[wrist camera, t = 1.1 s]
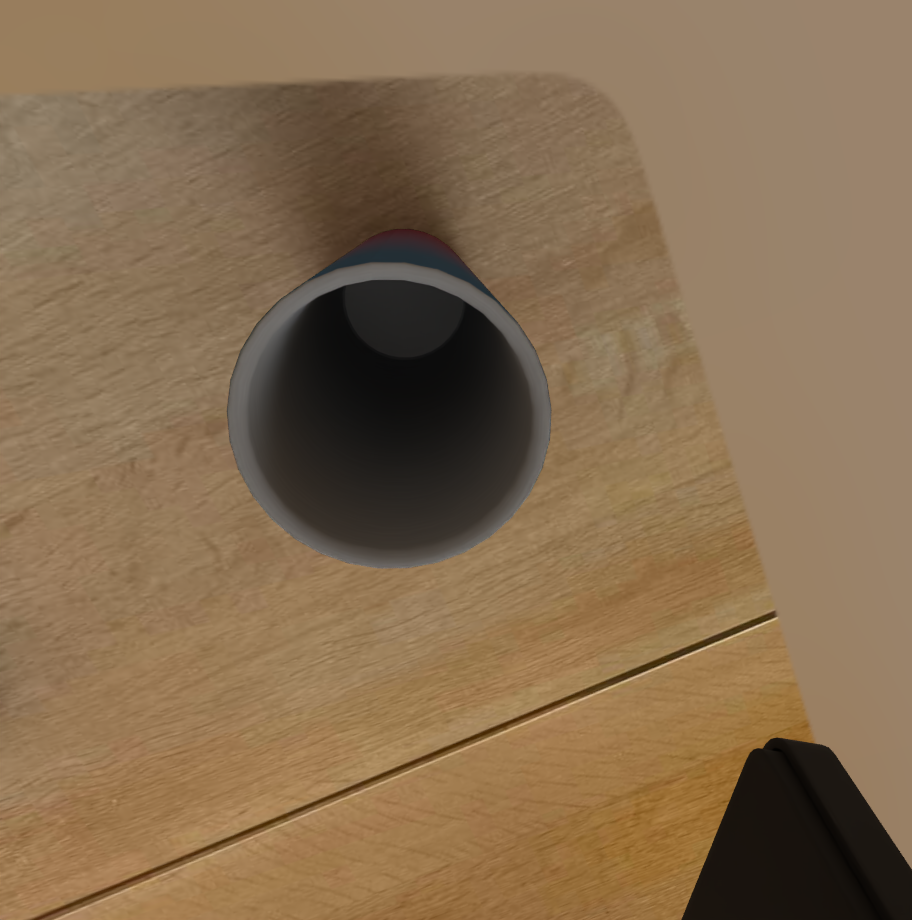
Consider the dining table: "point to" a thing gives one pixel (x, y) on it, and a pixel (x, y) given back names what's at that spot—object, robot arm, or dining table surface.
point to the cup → (390, 407)
